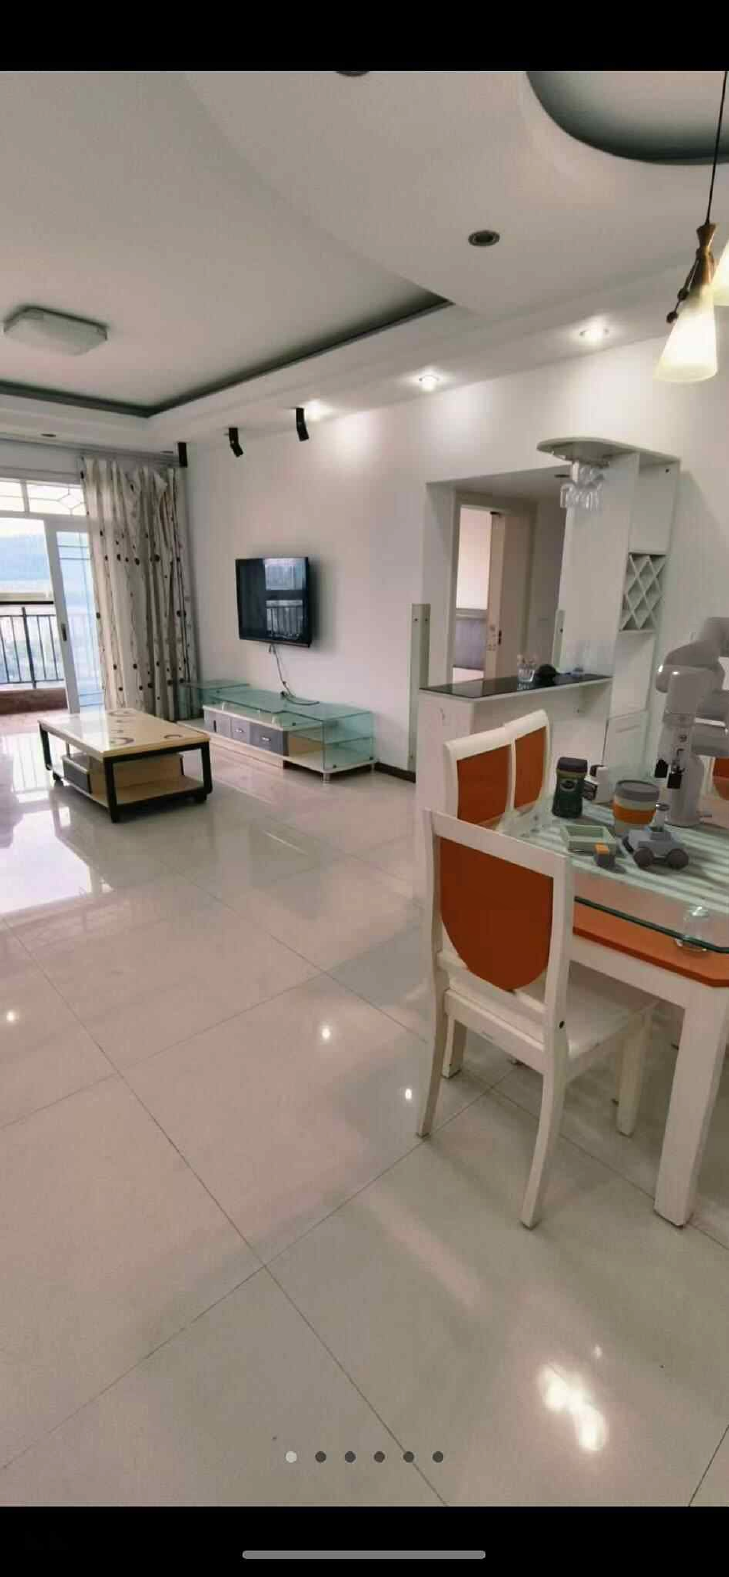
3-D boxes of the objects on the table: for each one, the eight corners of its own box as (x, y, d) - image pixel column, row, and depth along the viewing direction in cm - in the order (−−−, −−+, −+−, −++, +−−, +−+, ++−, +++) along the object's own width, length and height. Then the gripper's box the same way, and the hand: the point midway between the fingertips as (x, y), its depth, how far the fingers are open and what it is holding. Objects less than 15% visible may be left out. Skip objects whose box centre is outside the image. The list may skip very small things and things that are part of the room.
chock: (609, 860, 179) (612, 845, 178) (613, 866, 176) (616, 851, 174) (593, 859, 180) (595, 844, 178) (596, 865, 176) (599, 850, 175)
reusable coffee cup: (624, 843, 191) (632, 794, 187) (599, 827, 203) (606, 780, 198) (661, 839, 195) (670, 791, 190) (634, 824, 206) (642, 778, 201)
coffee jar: (583, 812, 214) (591, 757, 209) (579, 820, 208) (587, 763, 202) (552, 807, 218) (560, 753, 213) (548, 814, 212) (555, 758, 206)
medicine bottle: (579, 797, 229) (584, 764, 225) (595, 795, 232) (600, 762, 228) (594, 804, 223) (599, 770, 219) (610, 801, 226) (615, 768, 222)
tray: (603, 835, 196) (605, 826, 195) (615, 853, 184) (617, 843, 183) (558, 833, 197) (560, 823, 196) (567, 850, 185) (569, 840, 184)
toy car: (671, 850, 187) (676, 822, 184) (687, 869, 175) (693, 839, 173) (620, 847, 188) (624, 819, 185) (633, 866, 176) (638, 836, 174)
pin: (661, 834, 181) (667, 803, 178) (665, 839, 178) (671, 807, 175) (647, 833, 181) (653, 802, 178) (652, 838, 178) (657, 807, 175)
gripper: (707, 727, 161) (693, 794, 166) (681, 713, 177) (669, 774, 182) (675, 725, 161) (663, 792, 166) (652, 711, 178) (641, 773, 183)
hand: (666, 782), depth 174 cm, fingers open, 9 cm apart
